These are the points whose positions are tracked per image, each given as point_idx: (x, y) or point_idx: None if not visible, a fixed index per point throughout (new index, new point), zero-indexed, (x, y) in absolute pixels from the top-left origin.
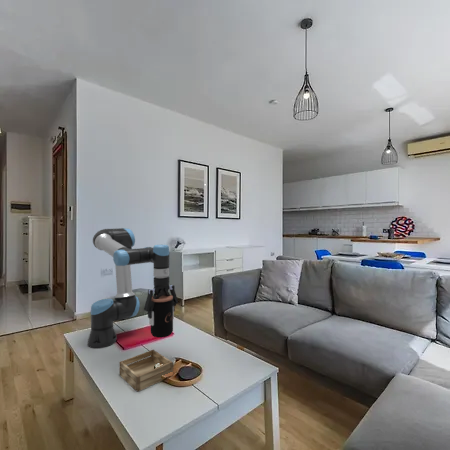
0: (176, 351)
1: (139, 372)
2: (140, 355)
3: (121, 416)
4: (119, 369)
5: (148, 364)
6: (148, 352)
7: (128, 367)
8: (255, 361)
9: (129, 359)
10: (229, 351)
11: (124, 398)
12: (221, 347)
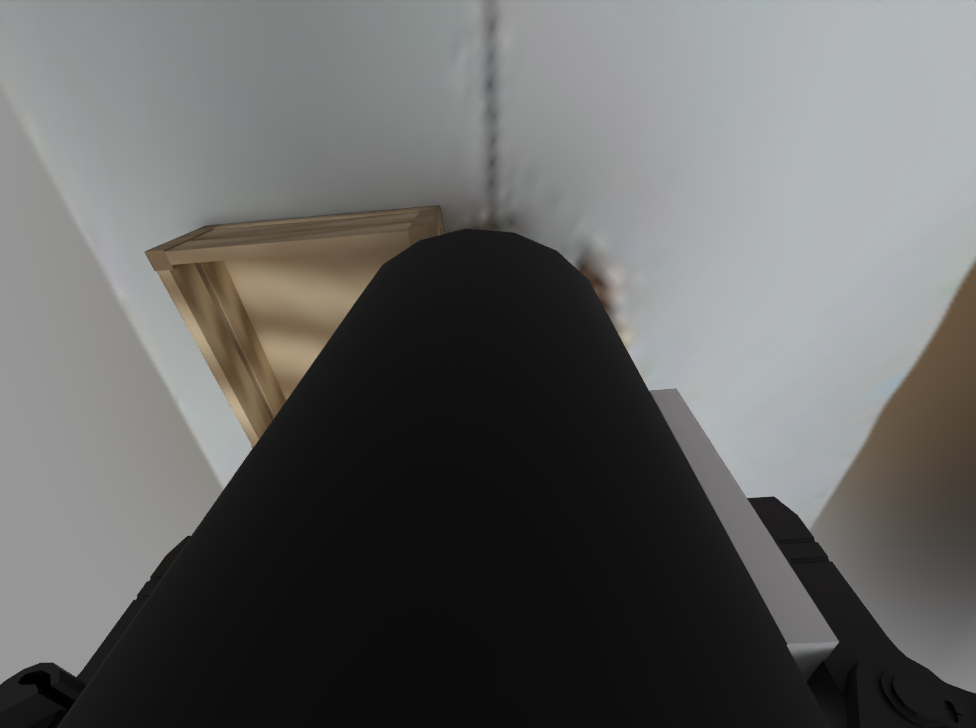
0: (648, 175)
1: (315, 302)
2: (310, 252)
3: (221, 480)
4: (182, 236)
5: (387, 251)
6: (379, 246)
7: (213, 355)
8: (805, 509)
9: (222, 259)
10: (846, 393)
11: (232, 414)
12: (878, 332)
